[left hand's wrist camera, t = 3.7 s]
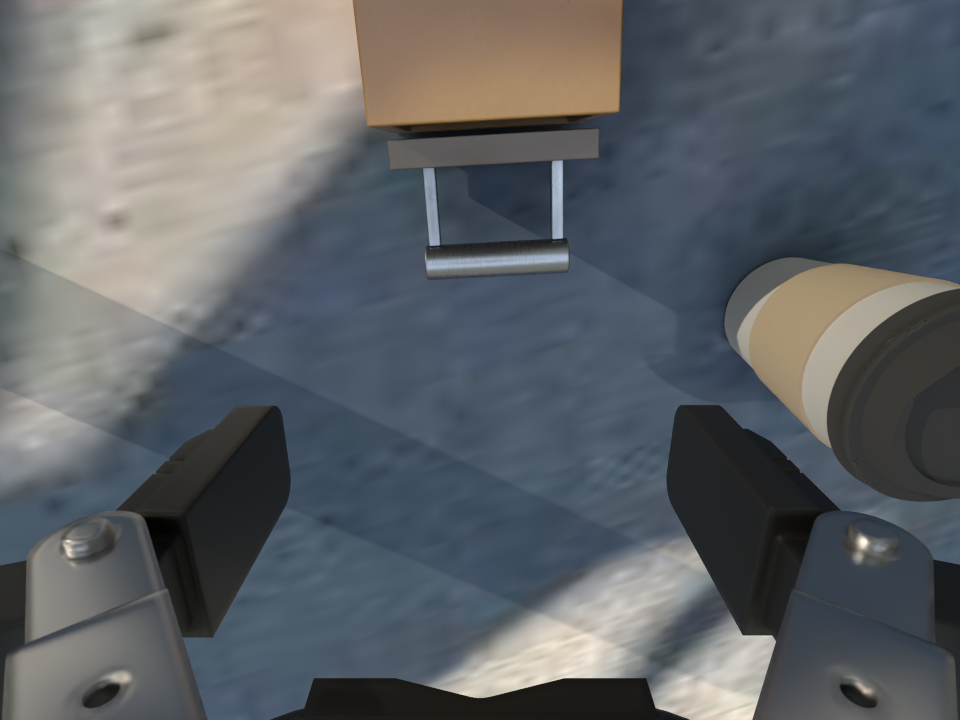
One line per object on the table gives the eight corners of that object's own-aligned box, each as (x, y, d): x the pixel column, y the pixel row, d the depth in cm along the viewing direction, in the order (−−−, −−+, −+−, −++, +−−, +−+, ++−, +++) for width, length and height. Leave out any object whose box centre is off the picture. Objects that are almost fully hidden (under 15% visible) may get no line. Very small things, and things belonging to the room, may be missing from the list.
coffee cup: (882, 319, 34) (1170, 437, 20) (755, 407, 36) (933, 570, 22) (809, 205, 31) (1078, 247, 17) (677, 306, 33) (822, 416, 19)
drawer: (572, 257, 32) (596, 283, 25) (417, 265, 32) (403, 294, 25) (576, -319, 23) (613, -497, 17) (364, -304, 23) (322, -476, 17)
